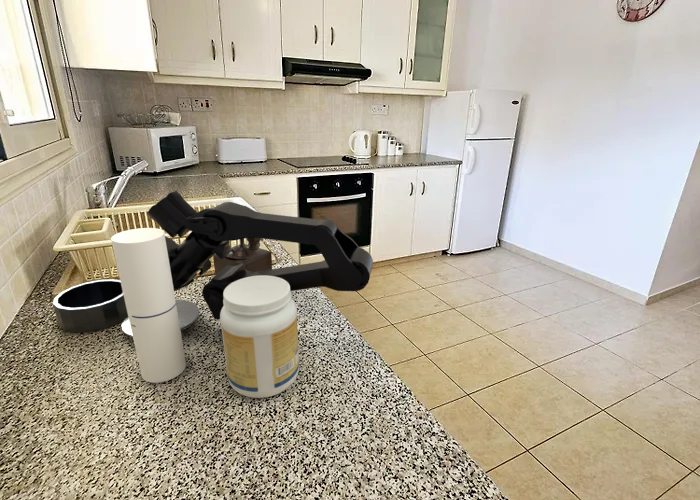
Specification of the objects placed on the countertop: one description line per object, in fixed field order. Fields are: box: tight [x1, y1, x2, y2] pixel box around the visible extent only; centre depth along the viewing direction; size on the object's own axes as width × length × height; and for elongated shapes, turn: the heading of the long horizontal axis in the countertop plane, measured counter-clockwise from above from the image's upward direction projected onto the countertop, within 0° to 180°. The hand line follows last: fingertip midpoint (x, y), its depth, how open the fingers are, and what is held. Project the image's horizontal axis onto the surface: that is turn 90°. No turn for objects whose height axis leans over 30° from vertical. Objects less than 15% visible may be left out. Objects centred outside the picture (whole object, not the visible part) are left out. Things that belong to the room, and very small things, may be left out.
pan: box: [52, 278, 128, 334], centre depth 81 cm, size 14×14×5 cm
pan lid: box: [120, 299, 200, 339], centre depth 76 cm, size 15×15×9 cm
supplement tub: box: [219, 275, 300, 399], centre depth 62 cm, size 12×12×17 cm
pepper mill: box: [212, 238, 273, 276], centre depth 91 cm, size 16×11×18 cm
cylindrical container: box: [110, 227, 187, 384], centre depth 61 cm, size 7×7×25 cm
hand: (152, 298), depth 76 cm, fingers closed on pan lid, 2 cm apart
